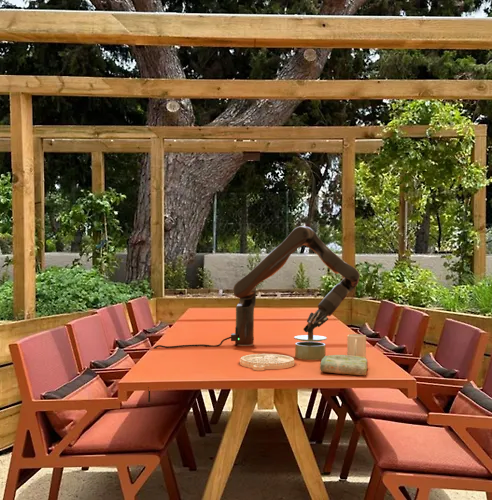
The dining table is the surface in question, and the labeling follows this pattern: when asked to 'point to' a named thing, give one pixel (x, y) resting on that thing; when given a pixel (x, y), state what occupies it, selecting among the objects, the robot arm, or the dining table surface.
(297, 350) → the bowl
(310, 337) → the lid
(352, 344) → the mug
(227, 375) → the dining table surface
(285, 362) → the medallion
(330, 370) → the towel
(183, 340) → the dining table surface
